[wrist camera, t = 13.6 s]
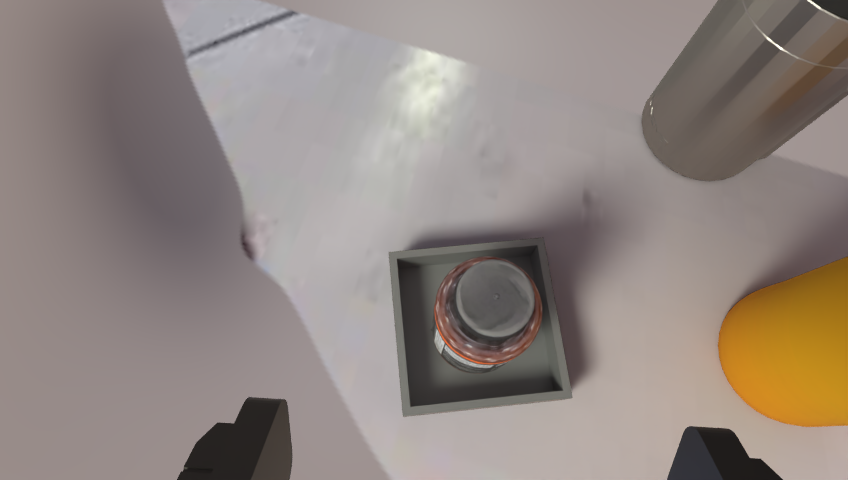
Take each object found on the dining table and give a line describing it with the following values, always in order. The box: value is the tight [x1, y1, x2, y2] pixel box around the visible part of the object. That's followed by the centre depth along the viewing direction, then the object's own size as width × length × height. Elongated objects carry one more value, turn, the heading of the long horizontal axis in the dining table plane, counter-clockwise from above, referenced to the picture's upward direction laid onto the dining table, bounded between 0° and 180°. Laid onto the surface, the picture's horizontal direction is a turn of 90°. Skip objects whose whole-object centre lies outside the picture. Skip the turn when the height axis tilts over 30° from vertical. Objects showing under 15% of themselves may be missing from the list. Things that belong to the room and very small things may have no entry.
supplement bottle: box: [431, 256, 542, 374], centre depth 33 cm, size 6×6×11 cm
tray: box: [389, 238, 572, 417], centre depth 37 cm, size 11×11×3 cm
